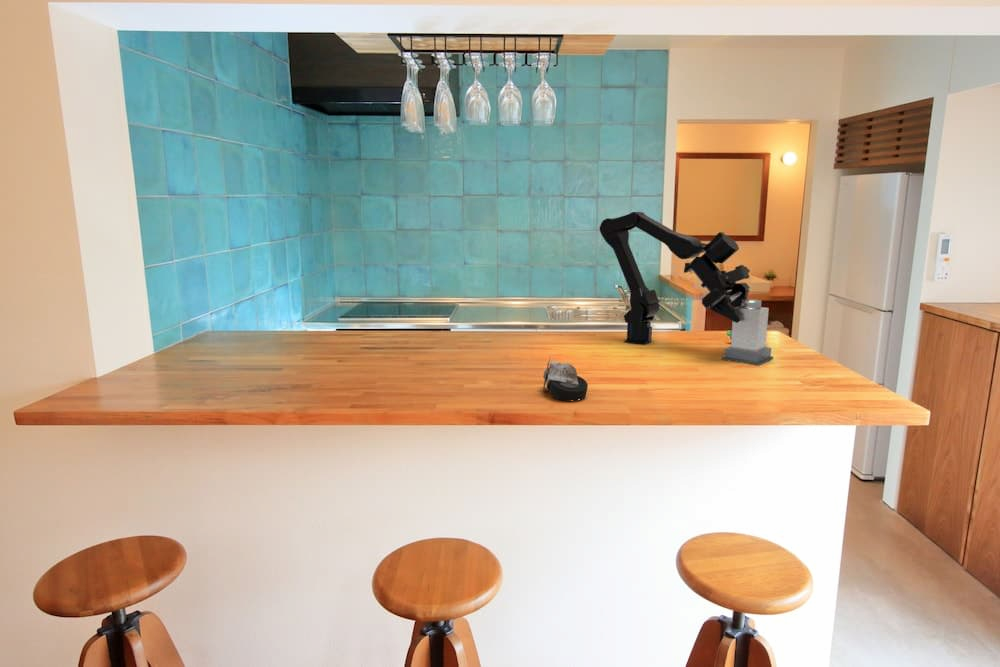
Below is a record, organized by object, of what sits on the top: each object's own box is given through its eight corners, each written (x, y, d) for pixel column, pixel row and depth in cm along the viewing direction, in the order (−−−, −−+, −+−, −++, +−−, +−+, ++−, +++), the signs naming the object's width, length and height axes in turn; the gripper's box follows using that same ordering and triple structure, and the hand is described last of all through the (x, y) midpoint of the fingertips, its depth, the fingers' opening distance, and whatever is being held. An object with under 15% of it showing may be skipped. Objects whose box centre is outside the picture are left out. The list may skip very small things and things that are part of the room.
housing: (730, 348, 173) (734, 300, 170) (739, 344, 177) (743, 297, 175) (756, 352, 168) (760, 303, 166) (765, 348, 173) (769, 300, 170)
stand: (721, 359, 173) (722, 348, 172) (736, 353, 180) (737, 342, 180) (758, 365, 166) (759, 354, 166) (773, 358, 174) (773, 347, 173)
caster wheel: (583, 413, 137) (537, 404, 139) (586, 388, 148) (543, 379, 149) (588, 386, 135) (541, 377, 136) (591, 362, 145) (547, 354, 146)
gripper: (716, 257, 165) (755, 305, 160) (745, 253, 179) (782, 297, 174) (686, 285, 172) (722, 331, 167) (716, 278, 186) (750, 321, 181)
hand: (745, 319), depth 172 cm, fingers open, 9 cm apart
